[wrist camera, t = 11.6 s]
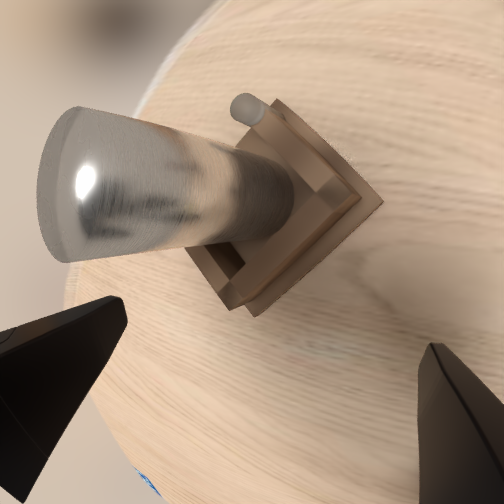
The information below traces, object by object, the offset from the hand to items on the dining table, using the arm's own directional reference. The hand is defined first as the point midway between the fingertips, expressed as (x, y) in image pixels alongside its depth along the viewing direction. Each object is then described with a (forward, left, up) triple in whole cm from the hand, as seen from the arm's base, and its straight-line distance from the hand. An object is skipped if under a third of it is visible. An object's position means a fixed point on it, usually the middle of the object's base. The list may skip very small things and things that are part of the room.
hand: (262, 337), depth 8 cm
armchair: (+3, +6, -13) cm, 15 cm away
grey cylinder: (+4, +7, -12) cm, 15 cm away
